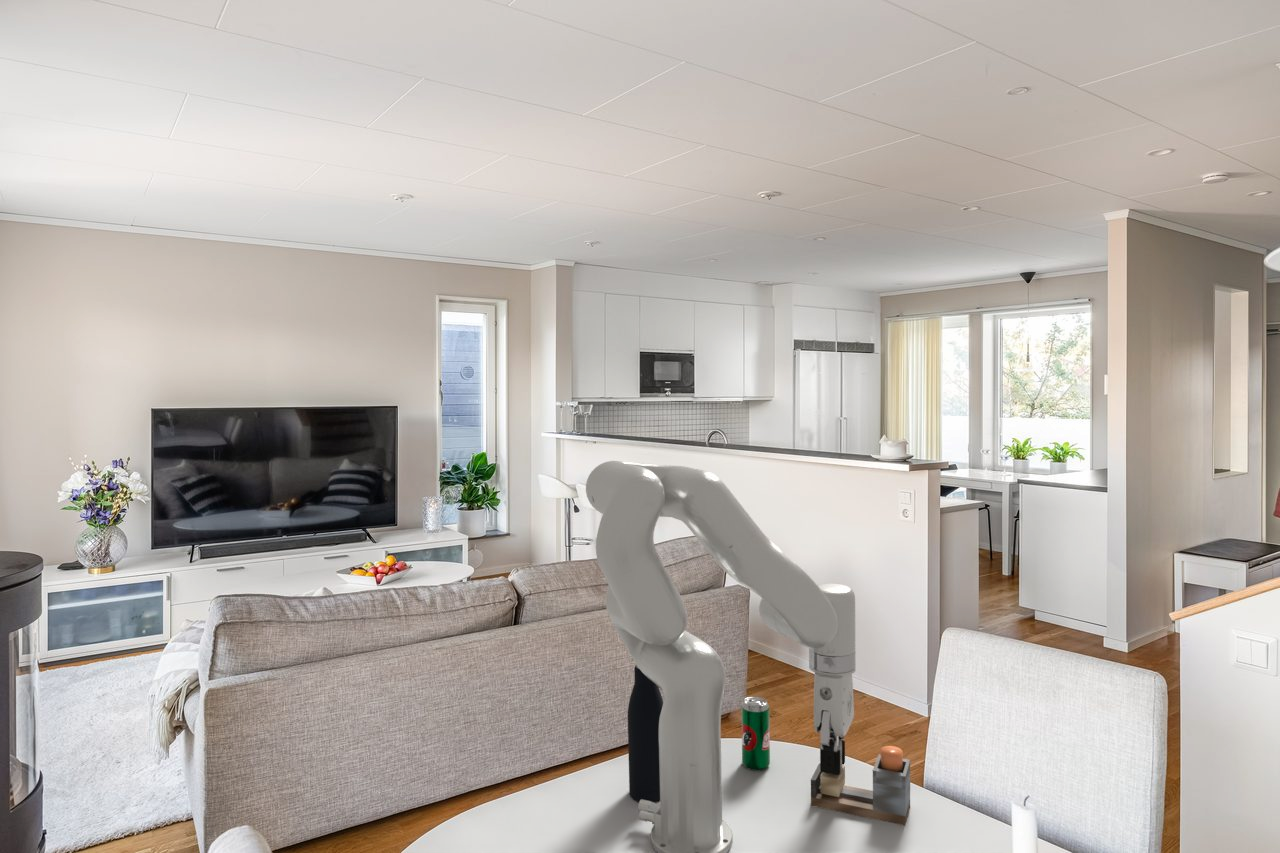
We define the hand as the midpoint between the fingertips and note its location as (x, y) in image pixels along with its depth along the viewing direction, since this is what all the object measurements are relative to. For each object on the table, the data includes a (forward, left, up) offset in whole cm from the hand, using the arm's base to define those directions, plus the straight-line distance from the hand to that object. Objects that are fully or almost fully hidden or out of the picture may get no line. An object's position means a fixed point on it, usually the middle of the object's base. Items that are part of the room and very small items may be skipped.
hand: (832, 766), depth 135 cm
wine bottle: (-29, -10, -6) cm, 32 cm away
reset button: (+9, 0, +2) cm, 10 cm away
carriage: (0, 0, -4) cm, 4 cm away
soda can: (-15, +7, -6) cm, 18 cm away
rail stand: (+5, 0, -6) cm, 7 cm away
